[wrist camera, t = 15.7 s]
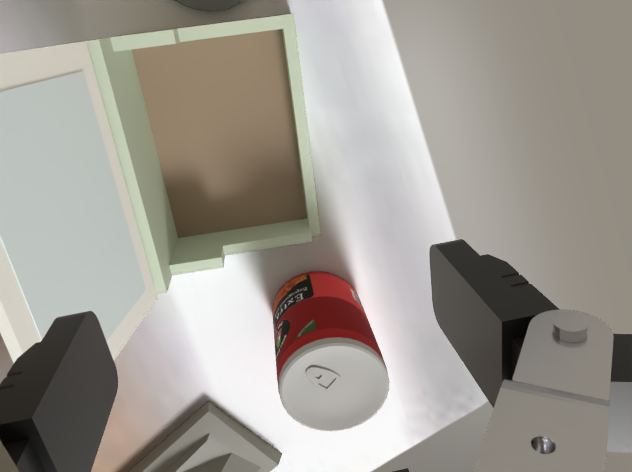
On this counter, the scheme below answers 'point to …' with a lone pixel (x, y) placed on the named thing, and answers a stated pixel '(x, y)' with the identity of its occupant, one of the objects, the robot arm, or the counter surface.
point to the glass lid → (64, 204)
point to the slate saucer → (209, 4)
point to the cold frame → (210, 140)
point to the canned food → (326, 354)
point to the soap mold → (210, 447)
